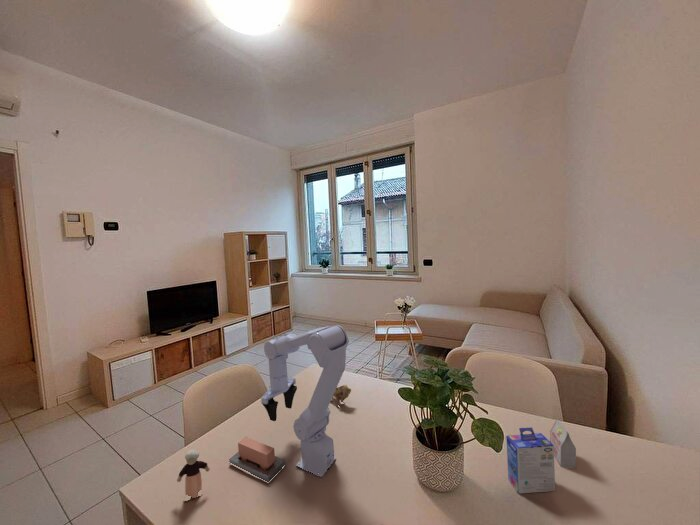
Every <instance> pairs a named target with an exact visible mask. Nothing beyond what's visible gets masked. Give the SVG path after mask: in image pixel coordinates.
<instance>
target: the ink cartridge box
mask: <svg viewBox="0 0 700 525" xmlns="http://www.w3.org/2000/svg"><path fill="white" fill-rule="evenodd" d="M518 430H519V434H514V435H513V434H512V435H510V434H509V435H506V436H505V437H506V438H505V440H506V454H507V455H506V457H507V478H508V481H509V482H510V484H511V485H512V486H513V488H514V490H515V491H516V492H517V494H530V493H531V494H533V493H545V492H547V493H548V492H555V491H556V478H555V477H556V474H555V456H554V445H553V444H552V443H551V442H550V439H548V438H547V437H545V435H543V433H542V432H536V433H535V431H534V429H533V427H532V426H531V427H519V428H518ZM525 432H531V433H525ZM524 433H525V434H524Z"/></svg>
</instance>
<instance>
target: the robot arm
mask: <svg viewBox="0 0 700 525" xmlns="http://www.w3.org/2000/svg"><path fill="white" fill-rule="evenodd" d="M349 342H350V340H349V336H348V334H347V332H346V330H345V329H344V327H343V326H341V325H339V324H335V325H332V326H331V325H330V326H329V325H326V326H323V327H317V328H315V329H311V330H309V331H307V332H303V333H301V334H298V335H297V334H296V333H290V331H289V332H286V333H284V334H283V336H281V335H279V336H277V337H276V338H274V339H272V340H267V341H266V342H265V343H264V346H263V350H264V354H265V356H266V358H267V359H268V368H269V369H268V370H269V371H268V373H269V384H270V385H268V390H267V391H266V392H265V394H263V395H262V396H261V397H260V399H261V400H260V401H261V404H262V406H263V407H264V408H265V410H266V412H267V415H268V417H269V420H270V421H272V422H276V421H277V419H278V418H277V416H278V415H277V411H278V410H277V409H278V405H279V401H278V400H277V401H276V400H275V399H274V398H275V397H278V396H279V395H282V394H283V398H284V406H285V408H287V409H290V410H291V409H292V406H293V401H294V397H295V394H296V392H297V391H298V387H297V385H296V383H297V382H296V381H297V379H296V378H295V377H290V378H289V377H288V365H287V361H288V360H287V359H288V358H289V357H288V356H289V355H288V354H291V353H295V352H298V350H299V349H300V347H302V346H306V345H307V349H308V350H310V351H311V353H312V355H313V356H314V358H315V361H316V362H317V364H318V366H319V367H320V368H322V371H321V374H320V376H319V378H318V381H317V383H316V386H315V389H314V390H313V394H312V396H311V398H310V401H309V403H308V406H307V407H306V408H305V409H304V410H303V411H302V412H301V414H300V415H299V417H298V418H297V419H295V420H294V422H293V431H294V433H295V436H296V437H297V439H298V440H300V449H301V459H302V460H301V459H300V460H301V461H302V462H301V463H300V462H299V461H298V462H297V463H296V464H295V467H296V466H298V465H300V466H298V467H300V468H302V469H301V470H303V469H304V470H303V471H305V470H306V472H308V471H309V472H308V473H310V472H311V473H310V474H312V473H313V475H315V476H317V477H319V476H320V478H322V477H323V476H324V475H325V474H326V473H327V472H328V470H329V469H330V468H331V466H332V465H333V463H334V462H335V461H334V460H336V459H337V458H336V456H335V446H334V445H335V444H334V439H333V438H332V437H330V436H329V435H328V434H327V433H326V431H327V426H328V425H329V423H330V415H331V410H330V408H329V406H330V403H332V399H333V397H334V396H333V395H334V392H335V390H336V388H338V387H339V386H338V385H339V383H340V381H341V379H342V376H343V375H344V372H345V370H346V357H347V356H346V354H347V348H348V345H349ZM333 461H334V462H333ZM331 464H332V465H331ZM298 467H297V468H298ZM300 468H299V469H300ZM328 468H329V469H328ZM327 469H328V470H327ZM325 472H326V473H325ZM318 473H319V474H318ZM324 473H325V474H324Z"/></svg>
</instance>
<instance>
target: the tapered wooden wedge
mask: <svg viewBox="0 0 700 525" xmlns="http://www.w3.org/2000/svg"><path fill="white" fill-rule="evenodd" d="M237 446H238V447H237V449H238V452H239V456H241V460H242V461H244V462H247V461H248V460H250V461H253V462H255V463H257V464H259V465H260V469H261V470H264V471H266V470H267V469H268V468H269V467H270V466H271V465H272V464H273V463H274V462H275V456H276V455H275V454H276V453H275V448H274V447H272V446H269V445H267V444H264V443H263V442H260V441H258V440H255V439H252V438H249V437H247V436H245V437H243V438H242V439H241V440H239V441H238V442H237Z"/></svg>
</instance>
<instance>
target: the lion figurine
mask: <svg viewBox="0 0 700 525" xmlns="http://www.w3.org/2000/svg"><path fill="white" fill-rule="evenodd" d="M351 393H352V389H351V388H349V387H348V385H347V384H343V385H340V386H337V388H336V390H335V392H334V395H333V397H334V398H335V399H336V403H337V404H338V405H339V404H340V405H341V402H343V403H344V401H345V400H346V399H347V398H348V397H350V396H349V395H350V394H351ZM338 405H337V406H338Z"/></svg>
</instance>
